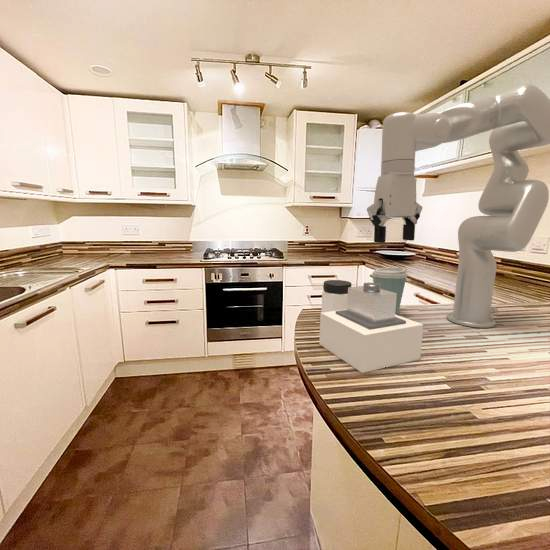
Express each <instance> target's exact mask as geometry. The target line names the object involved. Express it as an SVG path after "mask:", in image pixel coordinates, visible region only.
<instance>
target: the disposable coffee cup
mask: <svg viewBox="0 0 550 550" xmlns="http://www.w3.org/2000/svg"><path fill="white" fill-rule="evenodd" d="M407 278H408V272H407V269H405V268H403V267H402V268H401V267H381V268H376V269H374V271H372V279H373V282H372V283H378V284H380V289H383V290H387V291H390V292H394V293H397V298H396V310H395V314H396V315H398V314H399V313H400V307H401V303H402V298H403V294H404V290H405V284H406V280H407Z"/></svg>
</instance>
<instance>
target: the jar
mask: <svg viewBox="0 0 550 550" xmlns="http://www.w3.org/2000/svg"><path fill="white" fill-rule="evenodd" d="M322 286H323V287H322V288H323V289H322V291H321V292H322V293H321V313H323V312H330V311H338V310H345V309H347V301H348V287H352V286H353V285H352V282H351V281H348V280H341V279H329V280H324V282H323V285H322Z"/></svg>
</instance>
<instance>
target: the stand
mask: <svg viewBox="0 0 550 550" xmlns="http://www.w3.org/2000/svg"><path fill="white" fill-rule="evenodd" d="M319 313H320V314H319V315H320V320H319V343H318V344H319V345H320V346H322V347H323V348H325V349H326V350H327V351H329V352H330V353H332V354H333V355H335V356H336V357H338V358H340V359H341V360H342V361H344V362H346V363H347V364H348V365H349V366H350V367H353V368H355V369H356V370H357V371H358V372H360V373H361V374H364V373H368V372H372V371H378V370H380V369H384V368H385V367H386V368H389V367H390V368H391V367H394V366H398V365H401V364H405V363H411V362H414V361H417V360H418V361H419V360H421V354H422V353H421V351H422V345H423V344H422V343H423V342H422V341H423V332H424V324H422V323H420V322H419V321H418V322H417V321H415V320H413V319H409V318H407V317H404V316H401V315H398V314H397V315H396V314H395V320H391V321H386V322H380V323H371V322H369V321H367V320H364V319H362V318H360V317H357V316H355V315H353V314H350V313H348V312H347V309H345V310H338V311H330V312H323V313H322V312H319Z"/></svg>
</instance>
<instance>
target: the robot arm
mask: <svg viewBox="0 0 550 550" xmlns="http://www.w3.org/2000/svg"><path fill="white" fill-rule="evenodd" d="M381 129H382V134H381V135H382V137H381V159H380V160H381V161H380V163H381V164H380V175H379V176H378V177H377V181H376V185H375V190H374V197H373V198H374V199H373V203H372V204H371V205H370V206H369V205H368V207H367V208H366V212H367V215H368V219H369V220H370V222H371V224H372V226H373V227H374V232H373V233H374V234H373V235H374V237H373V242H374V243H378V244H385V242H386V236H387V233H386V232H387V227H386V225H385V224H386V222H387V221H388V220H389V219H394V218H397V219H398V218H402V220H403V221H404V224H403V225H402V240H403V241H411V242H412V241H414V240H415V235H416V234H415V233H416V232H415V231H416V225H417V224H418V220H420V219H419V218H420V217H421V213H422V210H423V206H422V205H421V204H420V203H418V202H417V183H416V182H417V181H416V176H415V170H416V165H415V164H416V152H418V151H422V150H428V149H432V148H435V147H438V146H440V145H443V144H445V143H446V144H447V143H452V142H457V141H460V140H464V139H467V138H470V137H473V136H477V135H479V134H482V133H485V132H489V131H490V135H489V137H488V138H489V139H488V145H489V149H490V151H491V152H490V153H491V156H492V159H493V170H492V173H491V175H490V177H489V179H488V181H487V183H486V185H485V187H484V189H483V191H482V193H481V195H480V198H479V201H478V204H477V205H478V207H477V208H478V210H479V212H480V213H481V214H483V215H476V216H471V217H468V218H466V219H465V220H463V221H462V222H461V223H460V225H459V227H458V230H457V239H458V253H459V254H458V266H457V273H456V274H457V275H456V281H455V290H454V291H455V292H454V301H453V309H452V311H451V312H448V313H447V314H446V320H448V321H449V322H452V323H455V324H457V325H461V326H464V327H471V328H482V329H486V328H487V329H488V328H493V327H495V326H496V320H495V319H494V318H493V317H491V315H492V314H497V313H498V308H497V307H496V306H492V301H493V296H494V290H495V289H494V288H495V281H496V274H497V261H496V258H495V256H494V253H493V252H492V251H494V252H496V251H497V252H504V253H505V252H508V253H509V252H510V253H514V252H515V253H516V252H521V251H522V250H524V249H526V247H527V246H528V245H529V243H530V241H531V240H532V238H533V236H534V234H535V232H536V230H537V228H538V226H539V223H540V221H541V219H542V217H543V215H544V213H545V212H546V209H547V207H548V203H549V197H550V191H549V187H548V186H547V184H546V183H545V182H544V181H542V180H539V179H527V178H528V175H529V171H530V168H529V165H528V163H527V162H526V160H525V159H524V158H523V157H522V156H521V154H520V153H519V151H523V150H527V149H533V148H539V147H544V146H548V145H550V98H549V97H548V96H547V95H546V93H544V91H543V90H541V89H540V88H539V87H537V86H536V85H534V84H531V83H530V84H528V83H525V84H524V83H523V84H522V85H519V86H515V87H513V88H510V89H507V90H504V91H501V92H497V93H494V94H492V95H488V96H486V97H482V98H478V99H474V100H471V101H467V102H463V103H460V104H457V105H454V106H451V107H448V108H447V109H444V110H442V111H439V112H428V113H414V112H411V111H400V112H395V113H392V114H389V115H386V117H385V118H384V119H383V122H382V128H381Z"/></svg>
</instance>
